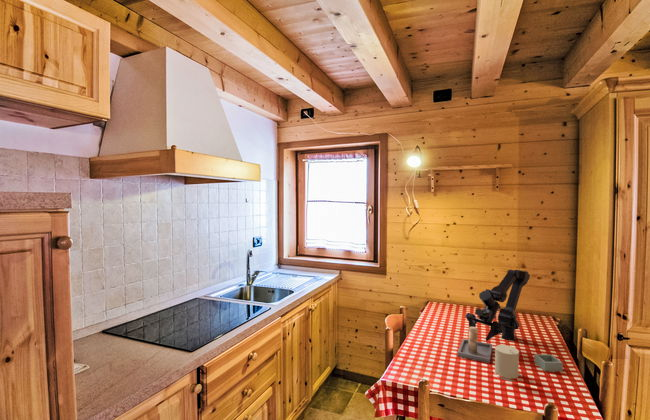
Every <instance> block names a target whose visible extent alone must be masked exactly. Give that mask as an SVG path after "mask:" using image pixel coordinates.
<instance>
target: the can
mask: <svg viewBox="0 0 650 420" xmlns="http://www.w3.org/2000/svg"><path fill="white" fill-rule="evenodd" d="M494 350H495V351H494V353H495V356H494V358H495V359H494V375H497V376H496V377H497V378H498V379H501V380H504V381H506V382H517V381H516V379H517V378H518V377H519V375H520V374H519V368H520V367H519V365H520V364H519V360H520V350H519V349H517V348H516V347H514V346H511V345H508V344H507V345H506V344H498V345H496V346H495V347H494Z"/></svg>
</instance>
